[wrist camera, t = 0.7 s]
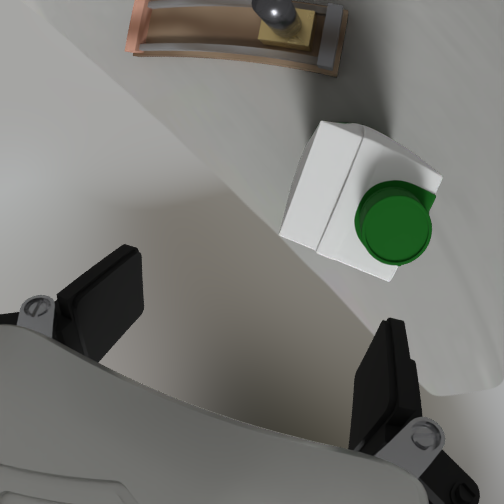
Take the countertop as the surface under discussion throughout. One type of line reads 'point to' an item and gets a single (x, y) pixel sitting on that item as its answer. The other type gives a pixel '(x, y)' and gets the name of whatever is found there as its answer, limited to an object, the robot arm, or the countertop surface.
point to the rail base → (230, 33)
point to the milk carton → (361, 199)
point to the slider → (285, 24)
